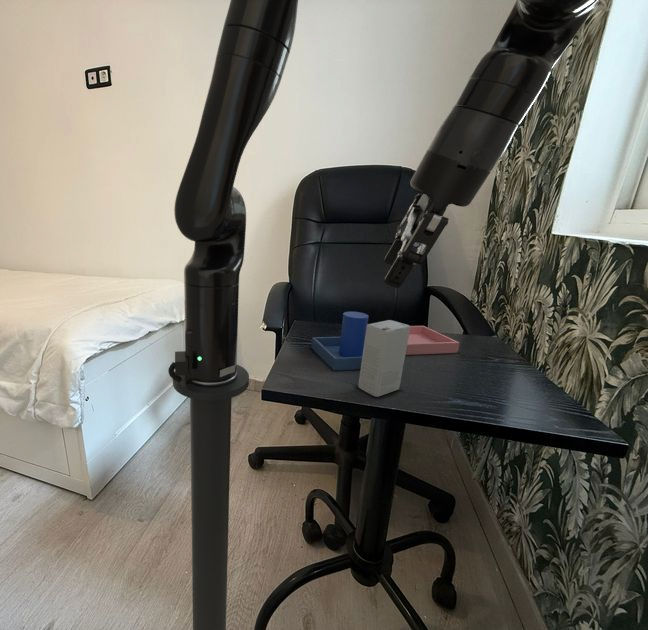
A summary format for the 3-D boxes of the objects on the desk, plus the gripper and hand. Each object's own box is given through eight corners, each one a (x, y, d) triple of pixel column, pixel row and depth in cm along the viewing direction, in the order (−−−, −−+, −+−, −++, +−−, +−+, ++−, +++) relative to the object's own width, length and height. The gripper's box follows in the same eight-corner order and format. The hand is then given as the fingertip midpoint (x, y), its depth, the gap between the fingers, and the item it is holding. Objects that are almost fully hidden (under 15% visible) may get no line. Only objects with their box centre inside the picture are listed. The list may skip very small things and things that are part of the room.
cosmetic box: (379, 380, 66) (388, 318, 63) (400, 391, 62) (412, 325, 59) (356, 388, 63) (364, 322, 60) (377, 399, 59) (387, 330, 56)
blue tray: (333, 370, 70) (334, 358, 69) (311, 347, 82) (311, 337, 81) (395, 367, 72) (397, 356, 71) (364, 345, 83) (366, 335, 83)
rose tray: (403, 355, 78) (405, 344, 78) (374, 336, 90) (375, 327, 89) (457, 352, 80) (459, 342, 80) (421, 334, 92) (423, 325, 91)
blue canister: (345, 360, 74) (350, 318, 71) (334, 350, 79) (339, 311, 76) (367, 359, 75) (373, 317, 72) (356, 350, 79) (361, 311, 77)
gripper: (423, 144, 49) (367, 249, 58) (436, 150, 37) (363, 281, 46) (478, 162, 48) (412, 267, 57) (509, 175, 36) (420, 305, 45)
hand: (390, 273), depth 51 cm, fingers open, 8 cm apart
